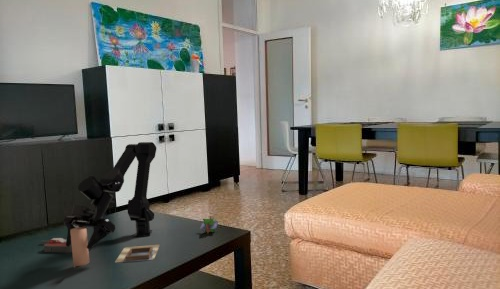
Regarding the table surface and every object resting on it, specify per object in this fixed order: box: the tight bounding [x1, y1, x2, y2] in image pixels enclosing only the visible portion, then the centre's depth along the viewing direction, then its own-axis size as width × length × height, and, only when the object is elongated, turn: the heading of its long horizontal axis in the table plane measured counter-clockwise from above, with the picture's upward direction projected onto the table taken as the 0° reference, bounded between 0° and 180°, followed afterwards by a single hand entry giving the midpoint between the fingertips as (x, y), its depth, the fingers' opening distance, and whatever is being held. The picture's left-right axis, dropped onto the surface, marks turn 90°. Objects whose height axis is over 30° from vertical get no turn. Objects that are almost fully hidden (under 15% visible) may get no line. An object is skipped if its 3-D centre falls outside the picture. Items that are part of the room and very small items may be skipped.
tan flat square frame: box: [114, 244, 161, 263], centre depth 133 cm, size 15×13×1 cm
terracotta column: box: [70, 226, 90, 269], centre depth 126 cm, size 5×5×13 cm
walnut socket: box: [125, 247, 153, 261], centre depth 131 cm, size 8×8×2 cm
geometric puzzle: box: [199, 215, 219, 235], centre depth 155 cm, size 7×7×8 cm
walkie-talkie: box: [40, 237, 72, 254], centre depth 146 cm, size 9×4×20 cm
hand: (77, 247), depth 125 cm, fingers open, 9 cm apart
